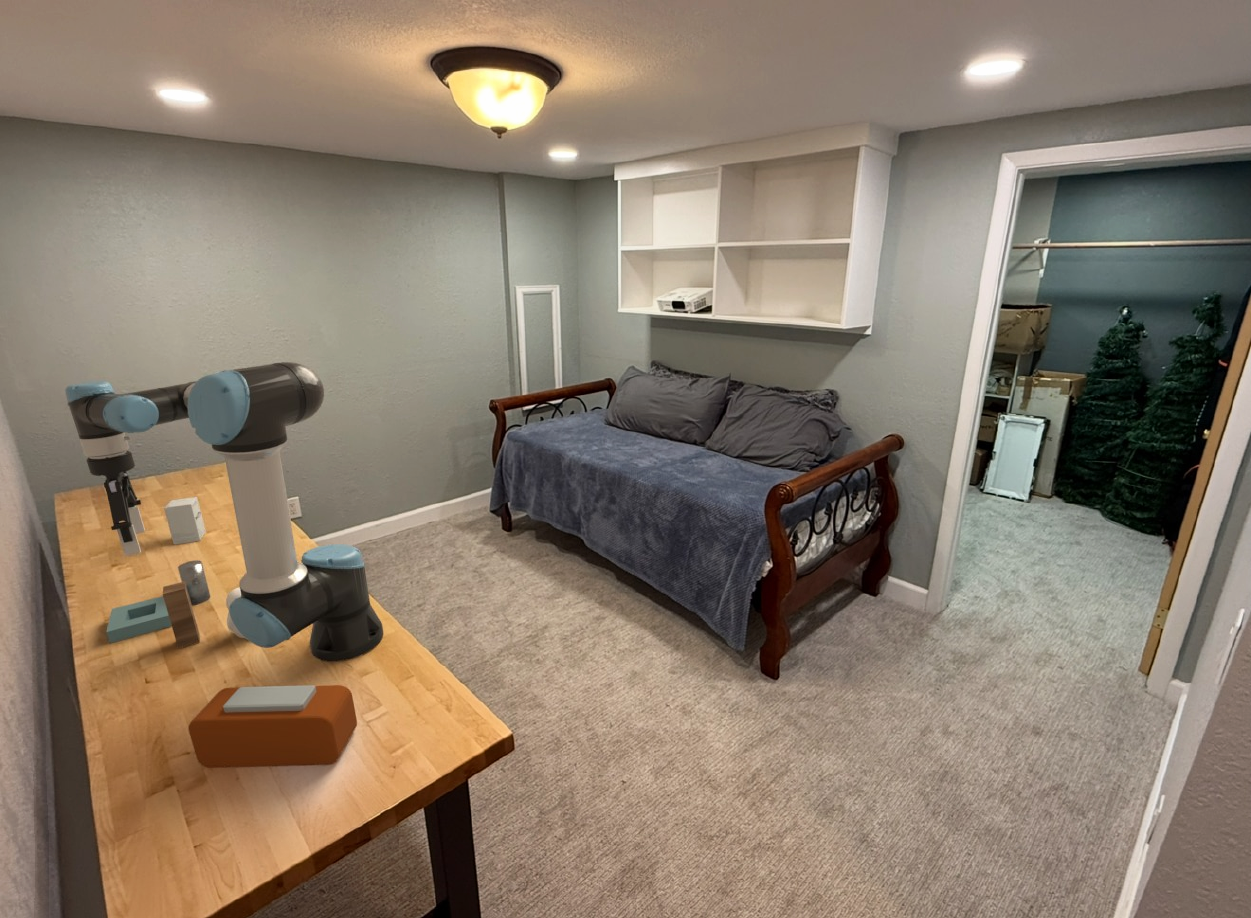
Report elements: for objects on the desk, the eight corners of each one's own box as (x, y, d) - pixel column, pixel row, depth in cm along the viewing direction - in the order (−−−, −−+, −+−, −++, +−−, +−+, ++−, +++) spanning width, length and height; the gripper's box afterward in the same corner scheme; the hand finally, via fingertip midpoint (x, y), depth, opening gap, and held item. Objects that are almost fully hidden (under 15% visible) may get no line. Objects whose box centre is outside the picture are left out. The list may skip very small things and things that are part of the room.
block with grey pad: (359, 729, 109) (350, 678, 106) (339, 765, 101) (328, 711, 98) (229, 732, 109) (215, 681, 106) (198, 769, 101) (182, 714, 98)
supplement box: (200, 541, 187) (191, 504, 184) (172, 545, 185) (162, 507, 181) (206, 532, 194) (197, 496, 190) (180, 535, 191) (170, 499, 188)
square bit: (199, 642, 136) (184, 588, 131) (178, 648, 134) (162, 594, 129) (199, 634, 139) (185, 581, 135) (178, 640, 137) (163, 586, 132)
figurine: (228, 643, 135) (216, 597, 132) (239, 625, 142) (228, 580, 139) (262, 638, 137) (252, 592, 133) (272, 620, 144) (262, 576, 140)
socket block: (174, 625, 142) (171, 614, 142) (109, 643, 136) (106, 631, 135) (175, 603, 152) (172, 593, 151) (115, 619, 145) (111, 608, 144)
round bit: (210, 600, 153) (201, 565, 150) (187, 606, 150) (177, 571, 147) (210, 592, 157) (201, 558, 154) (187, 598, 154) (178, 563, 151)
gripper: (125, 464, 120) (153, 558, 126) (135, 438, 139) (159, 521, 146) (76, 471, 116) (107, 568, 122) (93, 444, 135) (120, 529, 142)
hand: (135, 543), depth 134 cm, fingers open, 13 cm apart
